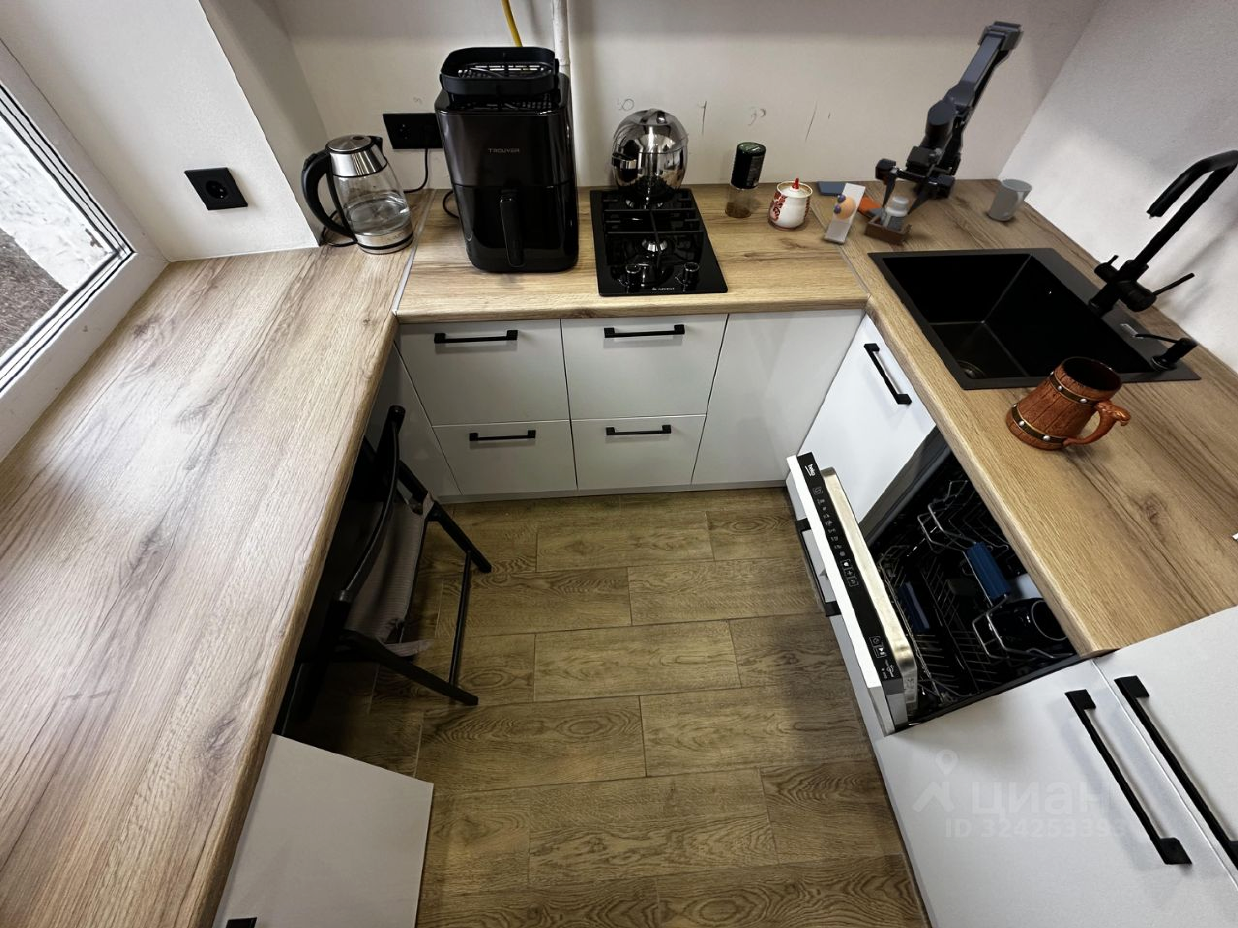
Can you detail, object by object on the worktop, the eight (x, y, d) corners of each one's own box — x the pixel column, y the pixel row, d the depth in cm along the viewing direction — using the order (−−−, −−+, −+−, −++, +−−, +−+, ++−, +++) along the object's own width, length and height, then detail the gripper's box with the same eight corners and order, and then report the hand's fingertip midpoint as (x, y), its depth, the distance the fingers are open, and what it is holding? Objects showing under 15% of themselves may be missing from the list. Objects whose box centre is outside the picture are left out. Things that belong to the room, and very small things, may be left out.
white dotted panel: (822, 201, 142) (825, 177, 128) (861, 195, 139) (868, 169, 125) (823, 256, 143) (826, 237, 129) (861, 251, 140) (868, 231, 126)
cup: (1008, 211, 148) (1027, 180, 142) (1020, 228, 142) (1040, 195, 135) (980, 209, 149) (997, 177, 142) (990, 225, 143) (1009, 193, 136)
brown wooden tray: (872, 225, 141) (877, 214, 139) (907, 236, 138) (912, 225, 135) (863, 234, 138) (867, 223, 136) (898, 245, 134) (903, 234, 132)
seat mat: (857, 186, 158) (858, 183, 157) (862, 197, 152) (863, 195, 152) (817, 183, 158) (817, 181, 158) (820, 195, 153) (821, 192, 152)
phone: (866, 195, 150) (903, 218, 141) (864, 200, 151) (901, 223, 142) (848, 199, 148) (884, 222, 140) (846, 204, 149) (882, 227, 141)
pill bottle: (901, 235, 138) (916, 201, 131) (888, 241, 136) (903, 206, 129) (884, 227, 141) (898, 193, 134) (872, 232, 139) (885, 198, 132)
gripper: (894, 121, 126) (859, 184, 129) (975, 140, 119) (936, 206, 122) (892, 148, 136) (860, 205, 139) (966, 167, 129) (931, 227, 132)
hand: (895, 210), depth 132 cm, fingers open, 6 cm apart
